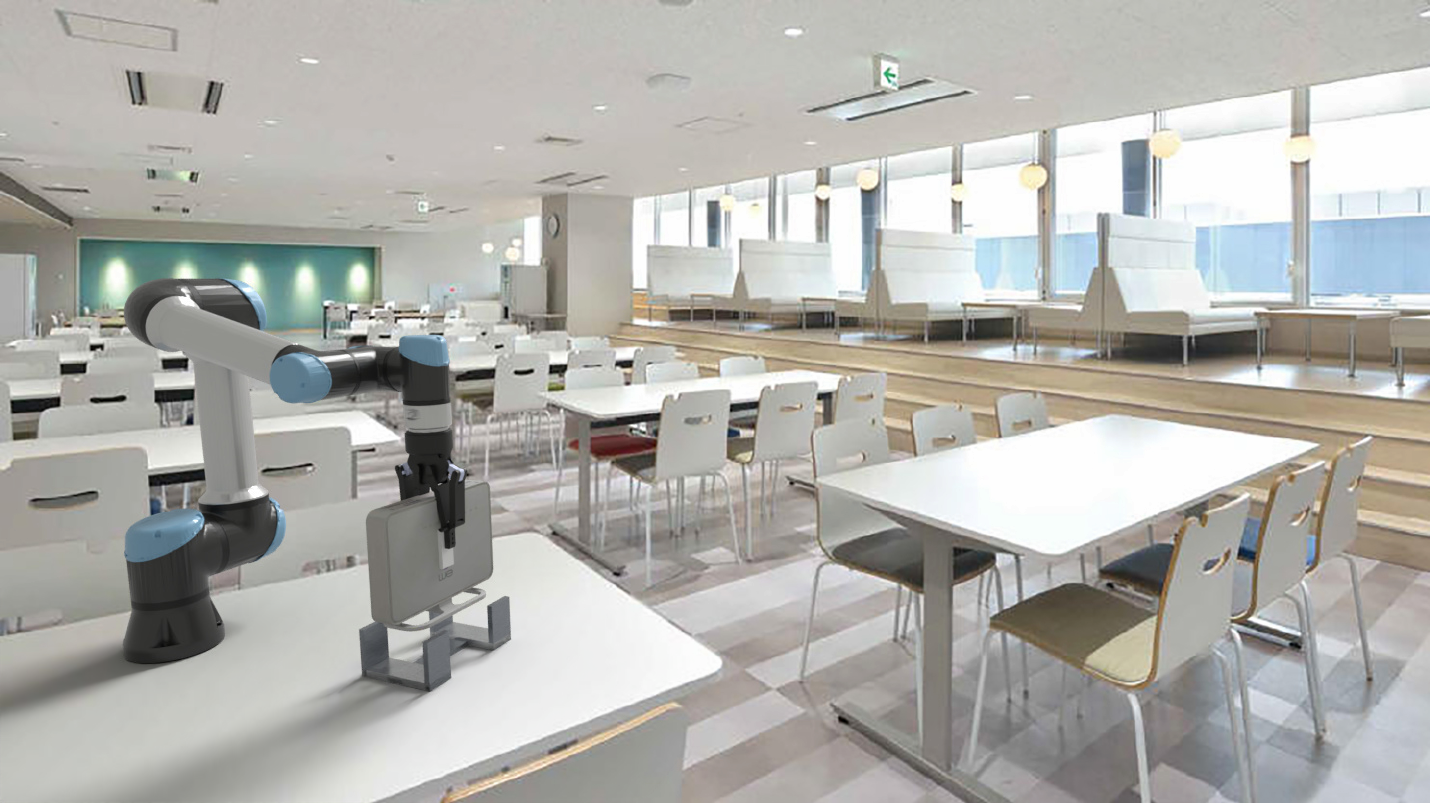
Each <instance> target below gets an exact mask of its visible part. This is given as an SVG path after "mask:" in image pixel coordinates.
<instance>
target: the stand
mask: <svg viewBox="0 0 1430 803" xmlns="http://www.w3.org/2000/svg"><path fill="white" fill-rule="evenodd" d="M452 598H453V597H452ZM452 598H451V602H452V603H453V599H452ZM486 608H487V611H486V612H487V627H482V626H477V625H472V624H467V623H461V622H456V621H454V615H452V616H450V617H448V618H447V619H445V620H443V621H441V622H439V623H437V624H435V625H433V626H432V627H430V628H429V638H428V639H426V640H424V641H422V642H421V644H422V646H421V647H422V657H420V658H418V659H416V660H415V661H413V662H412V661H408V660H403V659H400V658H399V659H398V658H394V657H390V650H389V632H388V628H387V627H385V626H384V624H383V623H380V622H376V621H373V622H371V623H369V624H367V625H366V626H363V627H361V628H359V629H358V636H359V637H358V638H359V647H360V649H359V650H360V664H361V677H365V678H370V679H374V680H378V681H382V682H387V683H390V684H391V683H392V684H396V685H400V686H403V687H404V686H405V687H409V688H413V689H417V690H421V691H427V692H431V691H433V690H434V689H437V688H438V687H439V686H441V685H442V684H444V683H446V681H448V680H450V679H452V666H451V665H452V664H451V663H452V662H451V656H453V655H455V654H456V653H459V651H461V650H463V649H465V648H466V647H467V646H471V647H475V648H480V649H485V650H486V649H487V650H491V651H496V649H498V648H500V647H502V646H503V645H504V644H505V643H507V642H509V641H510V640H512V633H511V632H512V630H511V629H512V628H511V602H510V596H507V595H504V596H502V597H500V598H499V599H497V600H494V601H493V602H491V603H490V604H488V605H487V606H486ZM439 615H441V614H440V613H434V612H429V611H428V621H430V620H432V619H433V618H435V617H437V616H439Z"/></svg>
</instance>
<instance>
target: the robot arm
mask: <svg viewBox="0 0 1430 803" xmlns="http://www.w3.org/2000/svg"><path fill="white" fill-rule="evenodd" d="M267 316H268V314H267V311H266V306H265V303H264V301H263V299H262V297H261V296H260V295H259V293H258V292H257V291H256V290H254V288H253V287H252V286H251V285H249V283H246V282H244V281H242V280H238V279H231V278H222V277H221V278H220V277H217V278H173V277H172V278H170V277H169V278H167V277H166V278H157V279H152V280H148V281H146V282H144V283H142V284H140V285H138V286H137V287H136V288H135V289H133V290H132V292H130V294H129V295H128V297H127V299H126V301H125V303H124V307H123V319H124V323H125V324H126V328H127V329H128V330H129V332H130V333H131V334H132V335H133V336H134V337H135V338H136V339H137V340H139V341H140V342H142V343H144V344H145V345H147V346H149V347H152V348H155V349H158V350H160V351H163V352H166V353H176V352H181V353H182V355H183V356H185V357H186V358H188V359H189V360H190V361H191V362H192V364H193V373H194V382H195V383H194V384H195V391H196V400H197V401H196V403H197V409H198V410H197V411H198V420H199V430H200V438H201V447H202V448H201V449H202V450H201V451H202V456H203V457H202V459H203V466H204V469H203V470H204V477H205V484H206V490H205V491H204V492H203V494H202V495H201V496H200V497H199V498H198V500H197V503H198V509H195V508H176V509H172V510H170V511H161V512H158V513H154V514H150V515H149V516H145V517H143V518H142V519H139V520H137V521H136V522H134V523H132V524H131V525H130V527H128V529H126V532H125V533H124V553H123V555H124V557H125V561H126V570H127V581H128V589H129V598H130V605H131V606H130V608H131V611H130V615H129V619H128V623H127V626H126V630H125V633H124V634H125V635H124V638H123V641H122V651H123V652H122V653H123V656H124V659H125V660H127V661H129V662H131V663H136V664H138V663H139V664H157V663H165V662H172V661H175V660H177V661H178V660H181V659H185V658H189V657H192V656H196V655H198V654H200V653H203V652H206V651H208V650H210V649H212V648H214V647H216V646H217V645H219V644H220V643H221V642H222V641H223V640H224V639H225V636H226V632H225V623H224V621H223V619H222V616H221V615H220V613H219V611H218V609H217V607H216V605H215V603H214V601H213V599H212V597H211V593H210V582H209V581H210V579H209V578H210V577H212V576H215V575H217V574H221V573H223V572H227V571H229V570H233V569H235V568H238V567H241V566H243V565H247V564H252V563H256V562H258V561H260V560H261V559H263V558H265V557H268V556H269V555H272V554H273V553H275V552H276V551H277V550H278V549H279V547H280V546H281V545H282V543H283V541H284V538H285V536H286V530H287V520H286V515H285V511H284V510H283V509H282V508H281V504H279V502H278V501H277V500H275V498H272V497H270V492H269V490H268V489H267V488H265V487H264V486H262V484H260V481H259V472H258V461H257V451H256V439H255V430H254V420H253V411H252V410H253V409H252V408H253V407H252V401H251V399H252V398H251V390H250V378H251V379H255V380H256V381H259V382H261V383H264V384H267V385H270V387H271V389H272V391H273V393H275V394H276V395H277V396H278V398H279V399H280V400H281V401H283V402H285V403H288V404H302V403H303V404H313V403H315V402H320V401H325V400H331V399H336V398H342V397H348V396H356V395H362V394H369V393H374V392H396V393H401V398H402V408H403V423H404V424H403V426H404V428H406V429H407V430H406V431H405V432H404V450H405V452H406V454H408V457H407V461H406V462H404V463H401V464H397V465H395V466H394V471H395V475H396V476H397V479H398V488H399V496H400V497H399V498H400V501H402V500H405V499H409V498H412V497H415V496H418V495H419V496H420V495H423V494H426V493H429V492H431V491H433V492H434V496H435V497H436V499H435V500H436V503H437V510H438V515H439V519H440V524H441V528H440V529H438V530H439V531H437V532H438V550H439V568H440V569H445V568H447V567H449V566H451V565H453V564H454V556H453V547H455V545H456V541H455V540H456V539H455V528H456V527H458V526H461V525H463V524H465V481H466V480H467V479H466V478H467V475H468V472H469V471H468V469H467V468H466V467H461V468H460V467H458V466H456V465H455V464H454V460H453V458H452V451H453V449H454V437H453V430H452V429H451V427H450V426H452V424H453V417H452V416H453V415H452V403H451V401H452V400H451V393H450V362H451V361H450V358H449V357H450V356H449V350H448V343H447V340H446V338H445V337H444V336H443V335H439V334H411V335H410V334H409V335H403V336H401V337H400V338H399V340H398V344H399V345H398V346H397V347H396V346H377V345H376V346H375V345H370V344H369V345H368V344H367V345H366V344H365V345H356V346H354V345H353V346H351V347H348V348H345V349H332V350H329V349H328V350H316V349H314V348H311V347H307V346H304V345H301V344H300V343H297V342H295V341H291V340H288V339H286V338H283V337H280V336H277V335H274V334H271V333H269V332H266V331H264V329H266V328H267V325H268V324H267V323H268V317H267ZM448 521H449V522H448Z"/></svg>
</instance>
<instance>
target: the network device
mask: <svg viewBox="0 0 1430 803" xmlns="http://www.w3.org/2000/svg"><path fill="white" fill-rule="evenodd" d="M491 498H492V496H491V486H490V483H489V482H488V481H484V480H483V481H482V480H474V479H465V524H463V525H461V526H458V527H456V528H455V539H456V540H455V541H456V545H455V547H453V556H454V564H453V565H451V566H449V567H447V568H445V569H440V568H439V550H438V532H437V531H439V530H438V529H440V528H441V524H440V519H439V515H438V510H437V503H436V500H435V499H436V497H435V496H434V492H433V491H432V490H430V492H429V493H426V494H423V495H420V496H419V495H418V496H415V497H412V498H409V499H405V500H402V501H401V500H400V501H396V502H394V503H389V504H386V505H384V506H380V507H377V508H374V509H372V510H370V511H369V512H368V513H367V515H366V518H365V531H366V533H365V534H366V546H367V547H366V548H367V549H366V550H367V564H368V565H367V566H368V582H369V595H370V597H369V598H370V612H371V613H370V614H371V615H370V616H371V619H372V620H373V622H375V621H376V622H380V623H383V624H384V626H385V627H387V629H392V630H396V631H401V632H418V631H424V630H427V629H430V627H432V626H433V625H435V624H437V623H439V622H441V621H443V620H445V619H447V618H448V617H450V616H452V615H453V616H454V615H456V614H458V613H459V612H462V611H464V610H465V609H467V608H469V607H471V606H473V605H474V604H475V605H476V604H477V603H479V602H480V601H482V600H484V599H485V598H486V597H487V592H486V590H485V589H482V588H479V587H478V588H477V586H478V585H480V584H482V583H484V582H486V581H488V580H489V579H490V578H491V577H492V575H493V573H494V552H493V551H494V550H493V529H492V527H493V526H492V525H493V524H492V505H491V504H492V502H491V501H492V500H491ZM448 522H449V521H448ZM462 593H466V594H467V593H468V594H472V595H473V594H474V595H476V596H474V597H472V598H470V599H468V600H467V601H464V602H462V603H459V604H458V603H457V604H456V603H455V604H454V603H453V601H452V602H451V598H454V597H456V596H459V595H460V594H462ZM424 612H428V613H429V612H434V613H440V614H441V615H439V616H437V617H435V618H433V619H432V620H430V621H429V620H428V621H426V622H424V623H422V624H416V625H415V624H414V625H413V624H410V623H409V624H408V623H405V622H406V621H408V620H410V619H412V618H414V617H416V616H418V615H420V614H423V613H424Z"/></svg>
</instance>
